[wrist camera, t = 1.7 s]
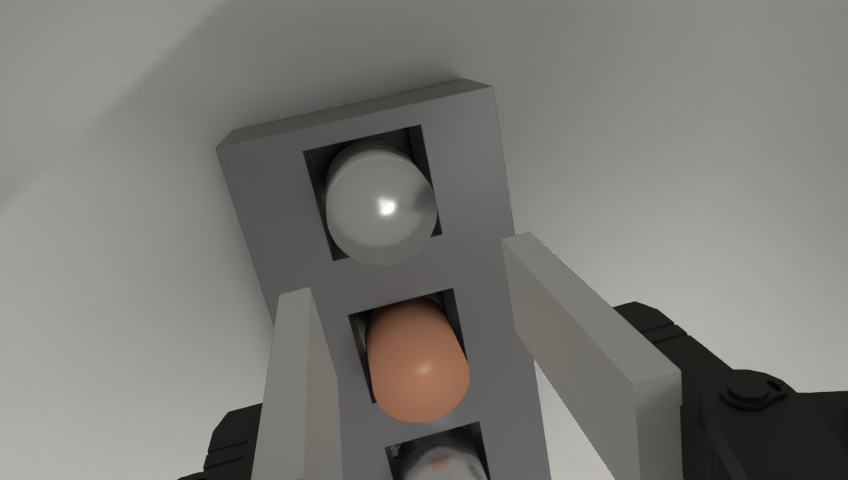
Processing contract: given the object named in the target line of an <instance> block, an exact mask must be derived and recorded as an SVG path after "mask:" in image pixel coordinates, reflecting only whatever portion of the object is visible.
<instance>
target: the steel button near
mask: <svg viewBox="0 0 848 480" xmlns="http://www.w3.org/2000/svg"><path fill="white" fill-rule="evenodd" d="M325 193H326V216H327V224H328V228H329V231H330V234H331V236H332V238H333V240H334V241H335V243H336V244H337V245H338V247H339V248H340V249H341V250H342V251H343V252H344V253H346V254H347V255H348V256H350V257H351V258H353V259H355V260H357V261H359V262H362V263H365V264H370V265H379V266H381V265H391V264H395V263H399V262H402V261H404V260H406V259H408V258H410V257H411V256H413V255H414V254H416V253H417V252H418V251H419V250H420V249H421V248H422V247H423V246H424V245H425V244H426V242H427V241H428V240H429V238H430V236H431V234H432V232H433V230H434V227H435V224H436V218H437V203H436V198H435V194H434V192H433V190H432V187H431V186H430V184H429V182H428V181H427V180H426V178H425V177H424V176H423V174H422V173H421V172H420V170H419V169H418V168H417V167H416V165H415V164H414V163H413V161H412V160H411V159H410V157H409V156H408V155H407V154H406V153H405V152H404V151H403V150H402V149H400V148H399V147H397V146H395V145H394V144H391V143H389V142H386V141H381V140H364V141H360V142H357V143H354V144H352V145H350V146H348V147H347V148H345V149H344V150H342V151H341V152H340V153H339V154H338V155H337V156H336V157H335V159H334V160H333V161H332V163H331V165H330V167H329V169H328V172H327V176H326V182H325Z"/></svg>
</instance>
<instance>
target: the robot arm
mask: <svg viewBox="0 0 848 480" xmlns="http://www.w3.org/2000/svg"><path fill="white" fill-rule="evenodd" d="M501 241H502V247H503V254H504V260H505V266H506V273H507V279H508V285H509V292H510V298H511V304H512V311H513V317H514V323H515V329H516V332H517V334H518V335H519V337H520V338H521V340H522V341H523V343H524V344H525V346H526V347H527V349H528V350H529V352H530V353H531V355H532V356H533V358H534V359H535V361H536V362H537V364H538V365H539V367H540V368H541V370H542V371H543V373H544V374H545V376H546V377H547V379H548V380H549V382H550V383H551V384H552V386H553V387H554V389H555V390H556V392H557V393H558V395H559V396H560V398H561V399H562V401H563V402H564V404H565V405H566V407H567V408H568V410H569V411H570V413H571V414H572V416H573V417H574V419H575V420H576V422H577V423H578V425H579V426H580V428H581V429H582V431H583V432H584V434H585V435H586V436H587V438H588V439H589V441H590V442H591V444H592V445H593V447H594V448H595V450H596V451H597V453H598V454H599V456H600V457H601V459H602V460H603V462H604V463H605V465H606V466H607V468H608V469H609V471H610V472H611V474H612V475H613V477H614V478H615V480H848V391H835V392H814V393H796V391H795V390H794V389H792V388H791V387H790V386H789V385H787V384H786V383H785V382H784V381H783V380H780V379H778V378H776V377H773V376H771V375H769V374H766V373H762V372H757V371H752V370H733V369H732V368H730V367H729V366H728V365H727V364H725V363H724V362H723V361H722V360H720V359H719V358H718V357H717V356H715V355H714V354H713V353H712V352H710V351H709V350H708V349H707V348H705V347H704V346H703V345H702V344H700V343H699V342H698V341H697V340H695V339H694V338H693V337H692V336H690V335H689V336H688V335H687V332H685V331H684V330H683V329H682V328H680V327H679V326H678V325H674V322H673V321H672V320H670V319H669V318H668V317H667V316H665V315H664V314H663V313H662V312H660V311H659V310H658V309H655V308H652V307H649V306H647V305H644V304H641V303H639V302H636V301H634V302H631V303H627V304H623V305H619V306H616V307H611V306H610V305H609V304H608V303H607V302H606V301H605V300H603V299H602V298H601V297H600V296H599V295H598V294H597V293H596V292H595V291H594V290H593V289H591V288H590V287H589V286H588V285H587V284H586V283H585V282H584V281H583V280H582V279H581V278H579V277H578V276H577V275H576V274H575V273H574V272H573V271H572V270H571V269H570V268H568V267H567V266H566V265H565V264H564V263H563V262H562V261H561V260H560V259H559V258H558V257H556V256H555V255H554V254H553V253H552V252H551V251H550V250H549V249H548V248H547V247H546V246H544V245H543V244H542V243H541V242H540V241H539V240H538V239H537V238H536V237H535V236H534V235H532V234H531V233H530V232H527V233H523V234H519V235H515V236H511V237H507V238H503V239H501ZM203 469H204V472H198V473H195V474H192V475H188V476H185V477H182V478H179V479H178V480H343V471H342V453H341V435H340V416H339V398H338V379H337V376H336V372H335V369H334V366H333V362H332V359H331V356H330V352H329V349H328V345H327V342H326V339H325V335H324V332H323V329H322V325H321V322H320V319H319V315H318V312H317V308H316V305H315V302H314V298H313V295H312V292H311V288H310V287H308V288H304V289H300V290H296V291H292V292H288V293H284V294H280V295H279V301H278V308H277V314H276V321H275V327H274V334H273V340H272V347H271V353H270V360H269V366H268V372H267V379H266V385H265V392H264V398H263V403H260V404H256V405H253V406H249V407H245V408H242V409H238V410H234V411H230V412H228V413H227V414H226V415H225V417H224V418H223V419H222V421H221V422H220V423H219V425H218V426H217V427H216V428H215V430H214V431H213V434H212V437H211V441H210V445H209V448H208V455H207V456H206V460H205V463H204V467H203Z"/></svg>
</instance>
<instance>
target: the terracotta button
mask: <svg viewBox="0 0 848 480" xmlns="http://www.w3.org/2000/svg"><path fill="white" fill-rule="evenodd" d="M365 342H366V348H367V355H368V361H369V368H370V375H371V381H372V388H373V393H374V396H375V399H376V401H377V403H378V404H379V406H380V407H381V408H382V409H383V410H384V411H385V412H386V413H387V414H388V415H390V416H392V417H393V418H395V419H398V420H401V421H405V422H411V423H420V422H427V421H432V420H434V419H437V418H440V417H442V416H444V415H445V414H447V413H448V412H450V411H451V410H452V409H454V408H455V407H456V406H457V405H458V404H459V402H460V401H461V400H462V398H463V397H464V395H465V393H466V391H467V388H468V385H469V380H470V371H469V366H468V362H467V360H466V358H465V356H464V354H463V351H462V349H461V347H460V345H459V343H458V341H457V338H456V336H455V334H454V332H453V330H452V327H451V325H450V323H449V321H448V319H447V317H446V314H445V312H444V311H443V309H442V308H441V307H440V306H439V305H438V304H437V303H436V302H434V301H433V300H431V299H429V298H427V297H425V296H419V297H415V298H411V299H408V300H404V301H400V302H396V303H392V304H388V305H384V306H380V307H377V308H376V309H375V310H374V312H373V313H372V314H371V316H370V318H369V319H368V322H367V325H366V329H365Z"/></svg>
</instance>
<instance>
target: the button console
mask: <svg viewBox="0 0 848 480" xmlns="http://www.w3.org/2000/svg"><path fill="white" fill-rule="evenodd" d="M406 127H408V128H409V133H410V138H411V143H412V148H413V153H414V158H415V163H416V167H417V168H418V169H419V170H420V172H421V173H422V174H423V176H424V177H425V178H426V180H427V181H428V182H429V184H430V186H431V187H432V190H433V192H434V194H435V198H436V203H437V218H436V224H435V227H434V230H433V232H432V234H431V236H430V238H429V240H428V241H427V242H426V244H425V245H424V246H423V247H422V248H421V249H420V250H419V251H418V252H417V253H416V254H414V255H413V256H411V257H410V258H408V259H406V260H404V261H402V262H399V263H395V264H391V265H381V266H379V265H370V264H365V263H362V262H359V261H357V260H355V259H353V258H351V257H350V256H348V255H347V254H346V253H344V252H343V251H342V250H341V249H340V248H339V247H338V245H337V244H336V243H335V241H334V240H333V238H332V236H331V234H330V231H329V228H328V224H327V216H326V208H325V205H324V201H323V197H322V194H321V190H320V186H319V183H318V179H317V175H316V172H315V168H314V164H313V160H312V157H311V153H310V149H314V148H319V147H323V146H327V145H332V144H336V143H340V142H345V141H349V140H354V139H358V138H362V137H367V136H371V135H375V134H380V133H384V132H389V131H393V130H397V129H402V128H406ZM216 152H217V155H218V158H219V161H220V164H221V167H222V170H223V173H224V176H225V179H226V182H227V185H228V188H229V191H230V194H231V197H232V200H233V203H234V206H235V209H236V212H237V215H238V218H239V221H240V224H241V227H242V230H243V233H244V236H245V239H246V242H247V245H248V248H249V251H250V254H251V258H252V261H253V264H254V267H255V270H256V273H257V276H258V279H259V282H260V285H261V288H262V291H263V294H264V297H265V300H266V303H267V306H268V309H269V312H270V315H271V318H272V321H273V324H274V327H275V321H276V314H277V308H278V301H279V295H280V294H284V293H288V292H292V291H296V290H300V289H304V288H308V287H310V288H311V292H312V295H313V298H314V302H315V305H316V308H317V312H318V315H319V319H320V322H321V325H322V329H323V332H324V335H325V339H326V342H327V345H328V349H329V352H330V356H331V359H332V362H333V366H334V369H335V372H336V376H337V379H338V398H339V416H340V435H341V453H342V471H343V480H401V476H400V471H399V465H398V459H395V460H394V459H393V455H392V452H391V448H390V446H392V445H395V444H399V443H403V442H406V441H410V440H413V439H417V438H420V437H424V436H428V435H431V434H435V433H438V432H442V431H445V430H449V429H452V428H456V427H460V426H463V425H467V424H469V425H470V430H471V435H472V441H473V443H474V446H475V449H476V451H477V454H478V456H479V459H480V462H481V464H482V467H483V470H484V472H485V475H486V477H487V480H551V475H550V468H549V461H548V455H547V448H546V441H545V434H544V428H543V421H542V414H541V407H540V401H539V394H538V387H537V380H536V374H535V367H534V360H533V356H532V355H531V353H530V352H529V350H528V349H527V347H526V346H525V344H524V343H523V341H522V340H521V338H520V337H519V335H518V334H517V332H516V329H515V323H514V317H513V311H512V304H511V298H510V292H509V285H508V279H507V273H506V266H505V260H504V254H503V247H502V241H501V239H503V238H507V237H511V236H515V232H514V225H513V219H512V212H511V205H510V199H509V192H508V185H507V178H506V172H505V165H504V158H503V151H502V145H501V138H500V131H499V124H498V118H497V111H496V104H495V97H494V91H493V86H490V85H486V84H483V83H479V82H475V81H472V80H468V79H463V80H458V81H454V82H449V83H445V84H440V85H436V86H431V87H427V88H422V89H418V90H413V91H409V92H404V93H400V94H395V95H391V96H386V97H382V98H377V99H373V100H368V101H364V102H359V103H355V104H350V105H346V106H341V107H337V108H332V109H328V110H323V111H319V112H314V113H310V114H305V115H301V116H296V117H292V118H287V119H283V120H278V121H274V122H269V123H265V124H260V125H256V126H251V127H247V128H242V129H238V130H233V131H232V132H231V133H230V134H229V135H228V136H227V137H226V138H225V139H224V140H223V141H222V142H221V143H220V144H219V145H218V146H217V147H216ZM439 291H442V294H443V299H444V304H445V309H446V313H447V318H448V321H449V323H450V325H451V327H452V330H453V332H454V334H455V336H456V338H457V341H458V343H459V345H460V347H461V349H462V351H463V354H464V356H465V358H466V360H467V362H468V366H469V371H470V380H469V385H468V388H467V391H466V393H465V395H464V397H463V398H462V400H461V401H460V402H459V404H458V405H457V406H456V407H455V408H454V409H452V410H451V411H450V412H448V413H447V414H445V415H444V416H442V417H440V418H437V419H434V420H432V421H427V422H420V423H411V422H405V421H401V420H398V419H395V418H393V417H392V416H390V415H388V414H387V413H386V412H385V411H384V410H383V409H382V408H381V407H380V406H379V404H378V403H377V401H376V399H375V396H374V393H373V388H372V381H371V375H370V368H369V361H368V355H367V353H366V354H365V352H364V348H363V345H362V341H361V337H360V334H359V330H358V326H357V323H356V319H355V315H354V313H357V312H361V311H365V310H369V309H372V308H376V307H380V306H384V305H388V304H392V303H396V302H400V301H404V300H408V299H411V298H415V297H419V296H423V295H427V294H431V293H435V292H439Z"/></svg>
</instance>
